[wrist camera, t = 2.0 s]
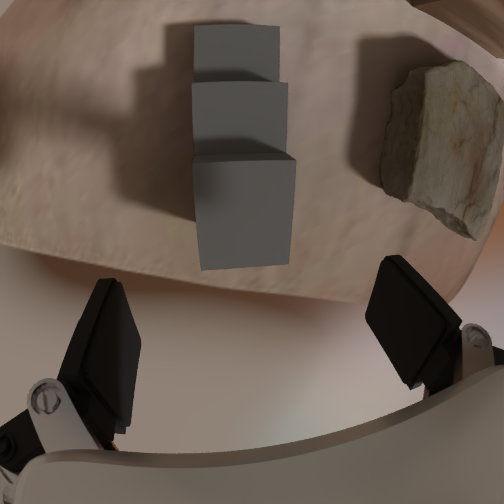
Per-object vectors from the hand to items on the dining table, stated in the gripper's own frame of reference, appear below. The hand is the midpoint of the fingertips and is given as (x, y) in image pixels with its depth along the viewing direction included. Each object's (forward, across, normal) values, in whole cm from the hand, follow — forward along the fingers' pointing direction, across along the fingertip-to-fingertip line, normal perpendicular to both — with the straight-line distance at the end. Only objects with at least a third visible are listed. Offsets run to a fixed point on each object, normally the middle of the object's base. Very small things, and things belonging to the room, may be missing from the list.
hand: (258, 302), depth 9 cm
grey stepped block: (+12, 0, -5) cm, 13 cm away
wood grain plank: (+11, -22, -19) cm, 31 cm away
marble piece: (+12, -19, -5) cm, 23 cm away
